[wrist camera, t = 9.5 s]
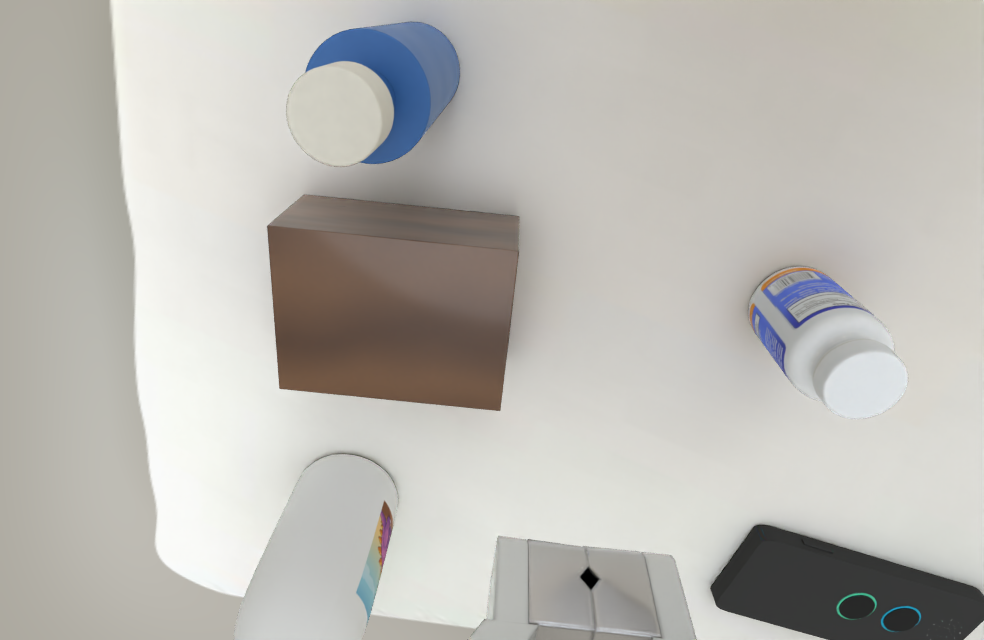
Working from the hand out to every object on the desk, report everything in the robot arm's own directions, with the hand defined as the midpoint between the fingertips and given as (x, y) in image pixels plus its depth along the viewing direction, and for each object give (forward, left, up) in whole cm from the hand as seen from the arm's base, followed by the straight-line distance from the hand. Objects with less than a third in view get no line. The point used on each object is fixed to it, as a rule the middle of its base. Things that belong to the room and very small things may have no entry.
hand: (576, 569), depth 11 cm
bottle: (0, -7, -26) cm, 27 cm away
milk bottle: (+25, -11, -29) cm, 40 cm away
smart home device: (+31, +28, -29) cm, 51 cm away
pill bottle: (+6, +17, -29) cm, 34 cm away
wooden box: (+8, -7, -28) cm, 30 cm away
